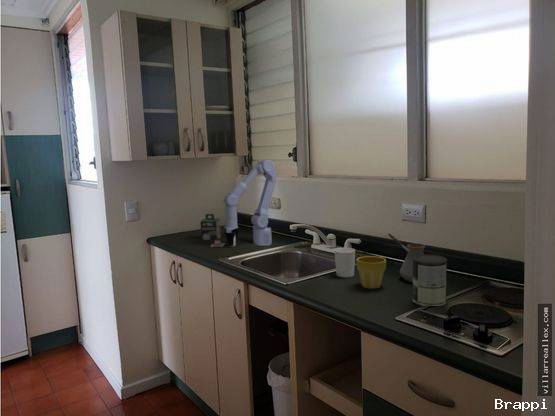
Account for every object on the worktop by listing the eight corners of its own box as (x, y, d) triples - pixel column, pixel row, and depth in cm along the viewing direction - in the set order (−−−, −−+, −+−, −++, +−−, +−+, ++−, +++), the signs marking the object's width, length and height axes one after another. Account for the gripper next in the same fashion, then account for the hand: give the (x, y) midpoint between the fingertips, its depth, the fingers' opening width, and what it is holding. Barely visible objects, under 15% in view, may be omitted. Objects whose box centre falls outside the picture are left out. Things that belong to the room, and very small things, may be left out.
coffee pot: (439, 281, 160) (439, 240, 158) (415, 286, 155) (415, 244, 153) (398, 267, 179) (398, 231, 177) (376, 271, 174) (376, 234, 172)
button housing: (225, 246, 229) (224, 243, 229) (222, 248, 223) (222, 245, 223) (213, 246, 230) (213, 243, 229) (210, 248, 224) (210, 245, 224)
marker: (236, 246, 226) (235, 233, 225) (235, 248, 223) (234, 235, 222) (230, 246, 226) (230, 233, 225) (229, 248, 223) (228, 235, 222)
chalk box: (221, 237, 250) (220, 212, 248) (217, 241, 241) (216, 214, 239) (205, 238, 251) (204, 212, 249) (201, 241, 242) (199, 215, 240)
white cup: (331, 273, 174) (331, 249, 172) (348, 271, 176) (348, 246, 175) (341, 279, 166) (340, 253, 165) (359, 276, 169) (359, 251, 168)
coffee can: (405, 299, 142) (405, 257, 140) (428, 293, 147) (428, 252, 145) (429, 309, 133) (430, 264, 131) (453, 302, 138) (454, 259, 136)
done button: (221, 244, 227) (221, 240, 227) (220, 246, 224) (219, 241, 224) (215, 244, 228) (215, 240, 228) (214, 246, 225) (213, 241, 224)
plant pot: (368, 279, 165) (368, 254, 163) (391, 285, 157) (392, 259, 155) (350, 285, 158) (350, 259, 157) (374, 292, 150) (373, 264, 149)
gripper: (227, 215, 230) (228, 241, 232) (220, 220, 216) (221, 247, 218) (240, 215, 229) (241, 241, 231) (234, 220, 215) (235, 247, 217)
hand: (232, 244), depth 224 cm, fingers open, 7 cm apart
